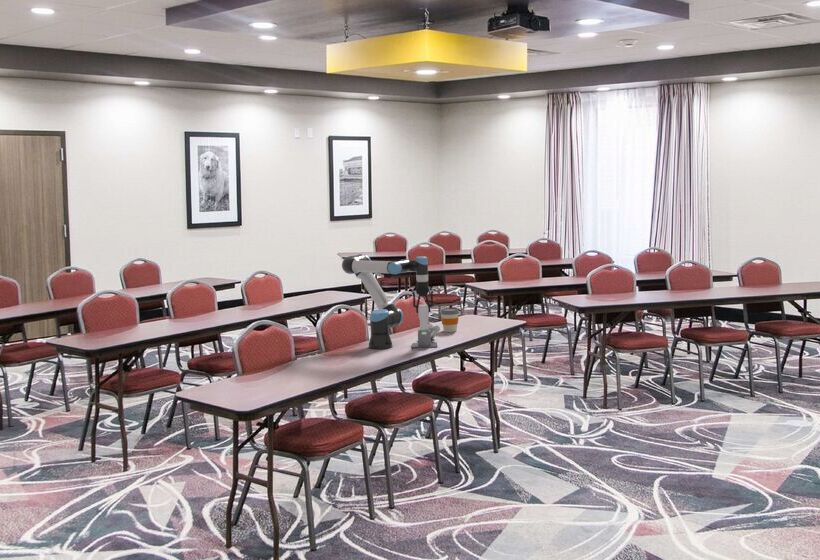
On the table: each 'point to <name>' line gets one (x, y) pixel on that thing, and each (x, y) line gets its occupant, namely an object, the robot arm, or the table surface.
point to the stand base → (424, 340)
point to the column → (423, 318)
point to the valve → (433, 330)
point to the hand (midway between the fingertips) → (423, 317)
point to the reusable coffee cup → (449, 319)
